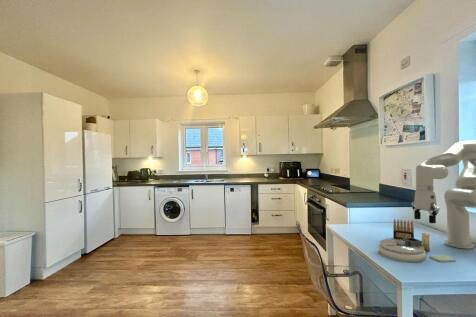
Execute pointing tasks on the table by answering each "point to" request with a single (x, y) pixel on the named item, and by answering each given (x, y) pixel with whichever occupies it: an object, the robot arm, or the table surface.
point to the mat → (443, 258)
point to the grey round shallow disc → (403, 246)
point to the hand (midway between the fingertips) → (424, 221)
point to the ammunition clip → (403, 230)
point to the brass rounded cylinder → (425, 242)
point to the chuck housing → (402, 256)
